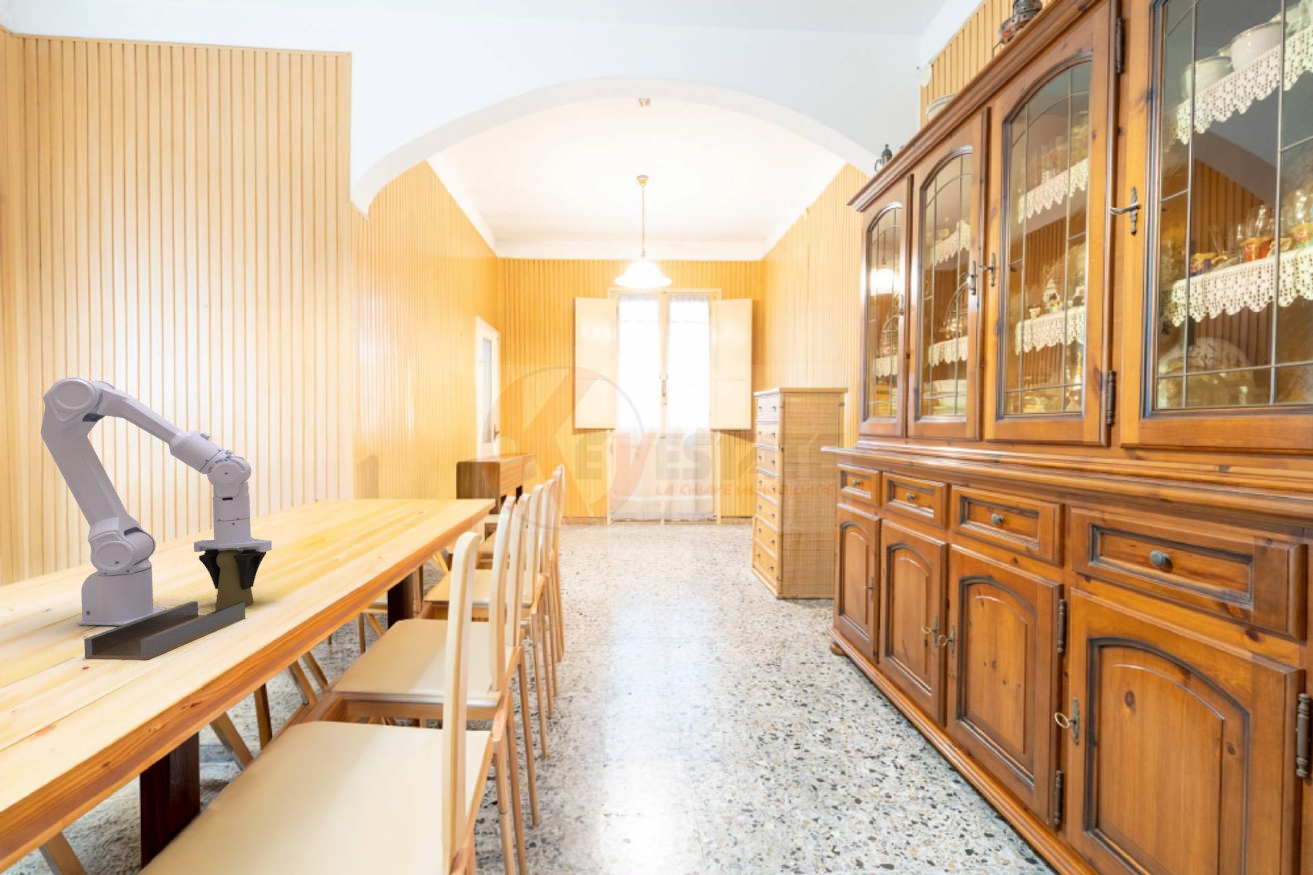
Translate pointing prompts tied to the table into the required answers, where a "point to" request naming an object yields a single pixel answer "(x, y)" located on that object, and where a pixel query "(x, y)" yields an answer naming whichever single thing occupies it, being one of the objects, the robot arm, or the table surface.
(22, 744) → the table surface
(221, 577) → the olive knobbed tapered piece
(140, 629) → the rail
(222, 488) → the robot arm
